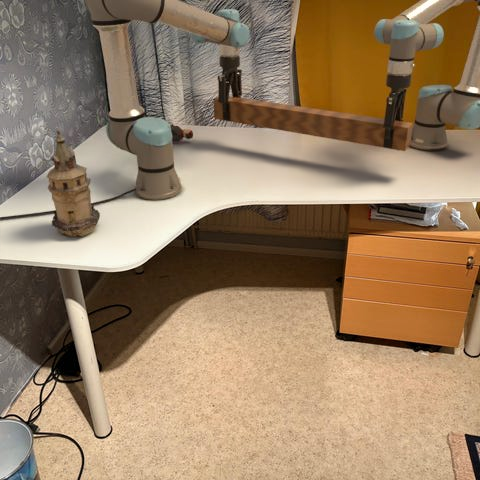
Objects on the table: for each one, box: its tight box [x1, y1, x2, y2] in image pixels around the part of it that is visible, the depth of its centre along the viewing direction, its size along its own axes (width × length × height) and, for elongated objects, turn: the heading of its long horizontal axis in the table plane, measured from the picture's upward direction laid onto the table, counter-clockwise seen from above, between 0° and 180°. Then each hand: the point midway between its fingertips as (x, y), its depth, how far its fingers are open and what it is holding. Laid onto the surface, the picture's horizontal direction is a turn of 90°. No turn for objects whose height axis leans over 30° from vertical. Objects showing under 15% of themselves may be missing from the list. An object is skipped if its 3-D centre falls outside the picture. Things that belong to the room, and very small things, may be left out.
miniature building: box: [46, 129, 101, 237], centre depth 148 cm, size 13×14×30 cm
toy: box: [169, 123, 194, 144], centre depth 221 cm, size 26×6×30 cm
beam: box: [213, 95, 414, 152], centre depth 191 cm, size 74×6×8 cm, turn 60°
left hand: (230, 117), depth 207 cm, fingers closed on beam, 6 cm apart
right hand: (390, 144), depth 179 cm, fingers closed on beam, 6 cm apart
